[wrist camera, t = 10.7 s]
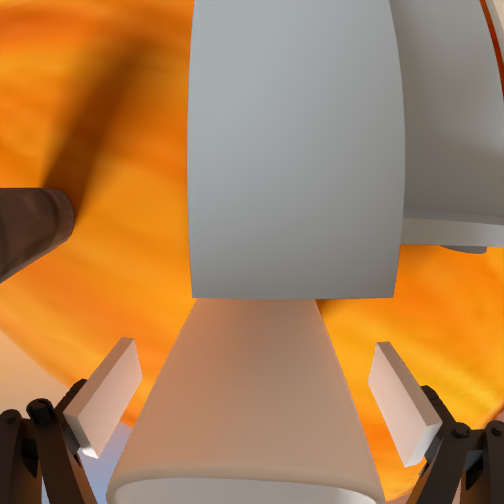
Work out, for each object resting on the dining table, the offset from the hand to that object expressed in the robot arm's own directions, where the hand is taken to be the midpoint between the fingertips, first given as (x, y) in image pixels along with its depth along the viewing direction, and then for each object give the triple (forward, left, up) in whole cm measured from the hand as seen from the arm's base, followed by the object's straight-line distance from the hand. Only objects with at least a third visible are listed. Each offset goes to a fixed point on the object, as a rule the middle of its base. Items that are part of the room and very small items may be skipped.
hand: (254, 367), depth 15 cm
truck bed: (-19, +8, -6) cm, 22 cm away
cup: (0, 0, -7) cm, 7 cm away
